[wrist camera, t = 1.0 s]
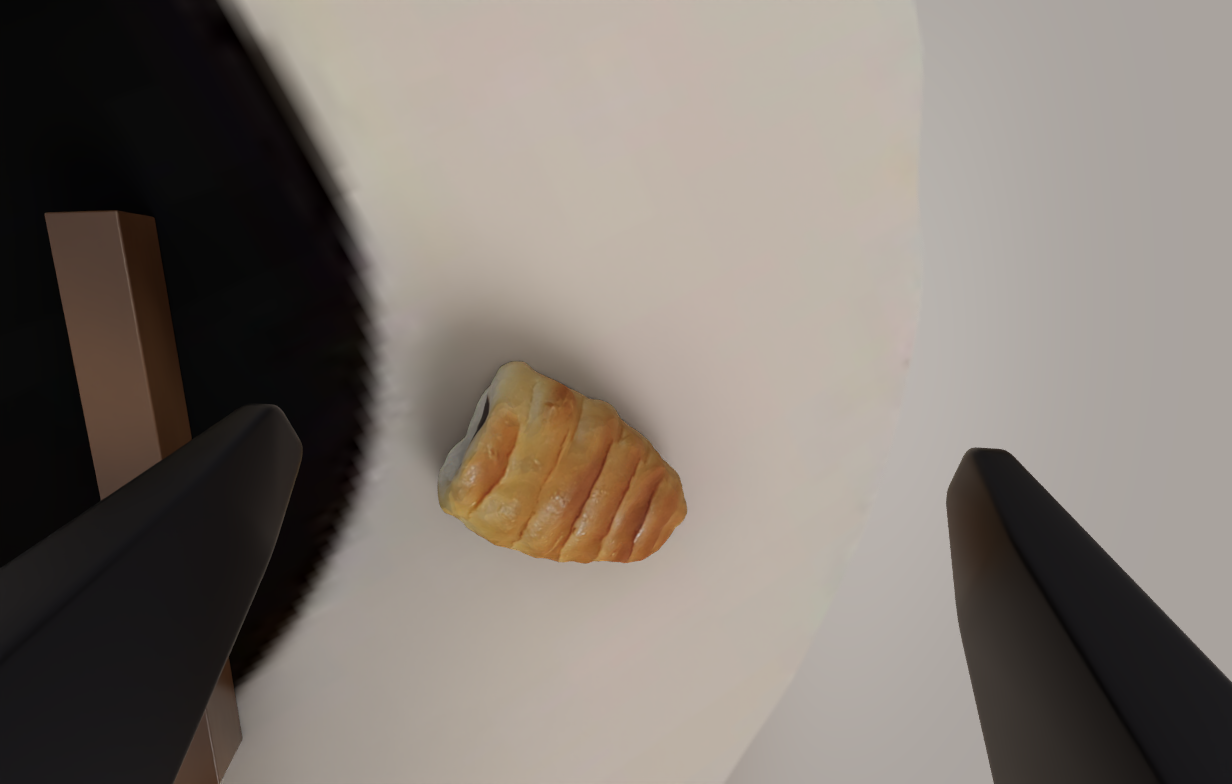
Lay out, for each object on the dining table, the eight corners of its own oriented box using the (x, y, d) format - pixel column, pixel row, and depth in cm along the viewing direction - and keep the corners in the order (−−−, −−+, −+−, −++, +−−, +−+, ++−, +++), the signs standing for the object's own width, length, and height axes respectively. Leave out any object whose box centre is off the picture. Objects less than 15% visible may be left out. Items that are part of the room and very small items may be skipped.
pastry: (703, 444, 28) (736, 470, 25) (630, 584, 29) (652, 630, 25) (498, 347, 26) (500, 360, 22) (423, 501, 27) (413, 538, 23)
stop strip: (243, 738, 27) (220, 785, 24) (187, 748, 26) (158, 796, 24) (155, 216, 23) (117, 209, 21) (89, 218, 23) (42, 212, 20)
